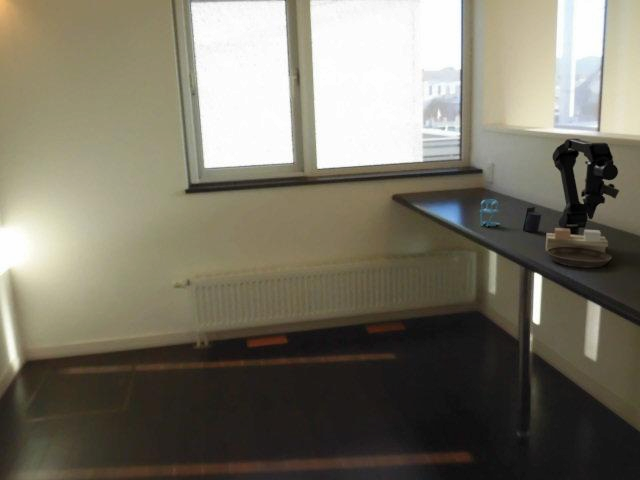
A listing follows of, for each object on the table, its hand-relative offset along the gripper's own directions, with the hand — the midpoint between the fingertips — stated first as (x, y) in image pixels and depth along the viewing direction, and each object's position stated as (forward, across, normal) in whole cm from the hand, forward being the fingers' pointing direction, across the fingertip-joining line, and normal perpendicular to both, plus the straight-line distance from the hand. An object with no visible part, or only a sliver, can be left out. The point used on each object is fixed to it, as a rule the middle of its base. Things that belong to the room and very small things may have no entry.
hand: (590, 218), depth 222 cm
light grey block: (+6, -8, 0) cm, 10 cm away
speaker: (+12, +32, +19) cm, 39 cm away
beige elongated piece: (+12, -7, +5) cm, 15 cm away
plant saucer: (+12, -20, +5) cm, 24 cm away
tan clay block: (+6, -8, +10) cm, 14 cm away
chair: (+12, +40, +38) cm, 56 cm away
